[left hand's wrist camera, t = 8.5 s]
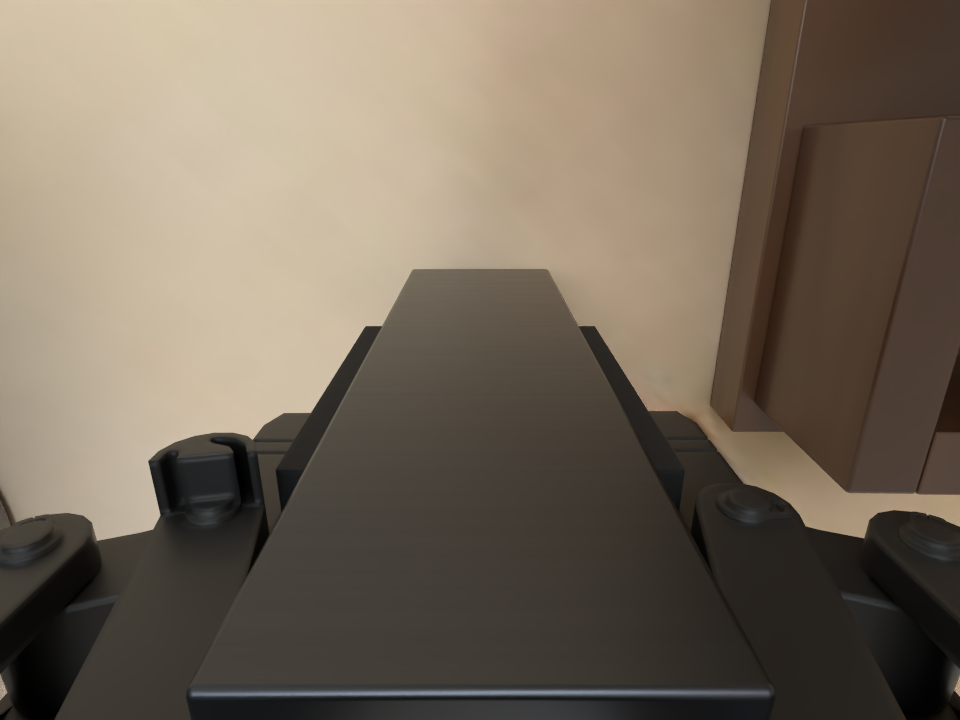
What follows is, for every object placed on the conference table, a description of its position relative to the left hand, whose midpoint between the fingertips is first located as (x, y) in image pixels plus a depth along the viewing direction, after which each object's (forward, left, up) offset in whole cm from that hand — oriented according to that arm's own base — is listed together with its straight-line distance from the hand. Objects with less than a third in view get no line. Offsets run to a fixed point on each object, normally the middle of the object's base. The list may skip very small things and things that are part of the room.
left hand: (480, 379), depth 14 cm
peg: (0, 0, -4) cm, 4 cm away
